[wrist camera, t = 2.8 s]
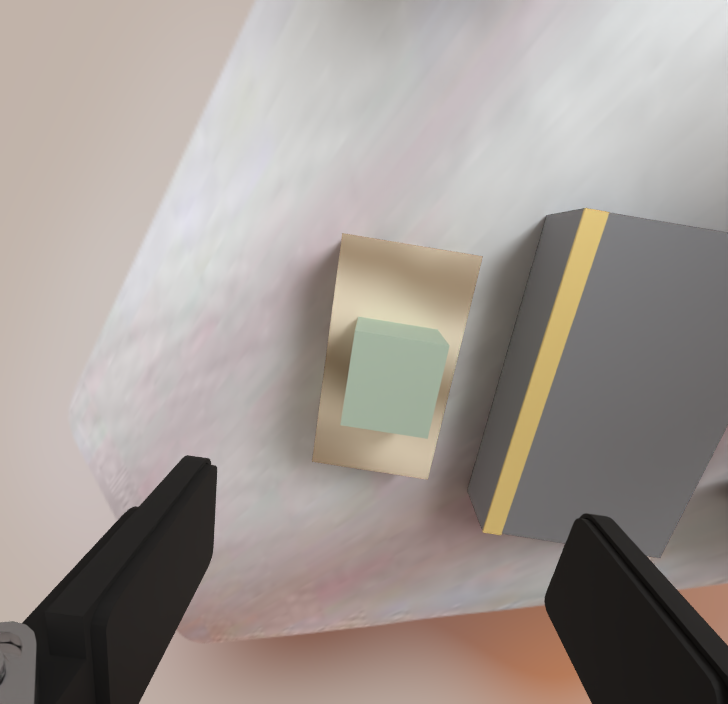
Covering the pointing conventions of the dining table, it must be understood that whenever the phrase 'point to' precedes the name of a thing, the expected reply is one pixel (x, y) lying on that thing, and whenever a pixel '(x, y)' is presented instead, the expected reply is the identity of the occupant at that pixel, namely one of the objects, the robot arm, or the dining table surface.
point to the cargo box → (394, 377)
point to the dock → (608, 381)
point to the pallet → (400, 305)
